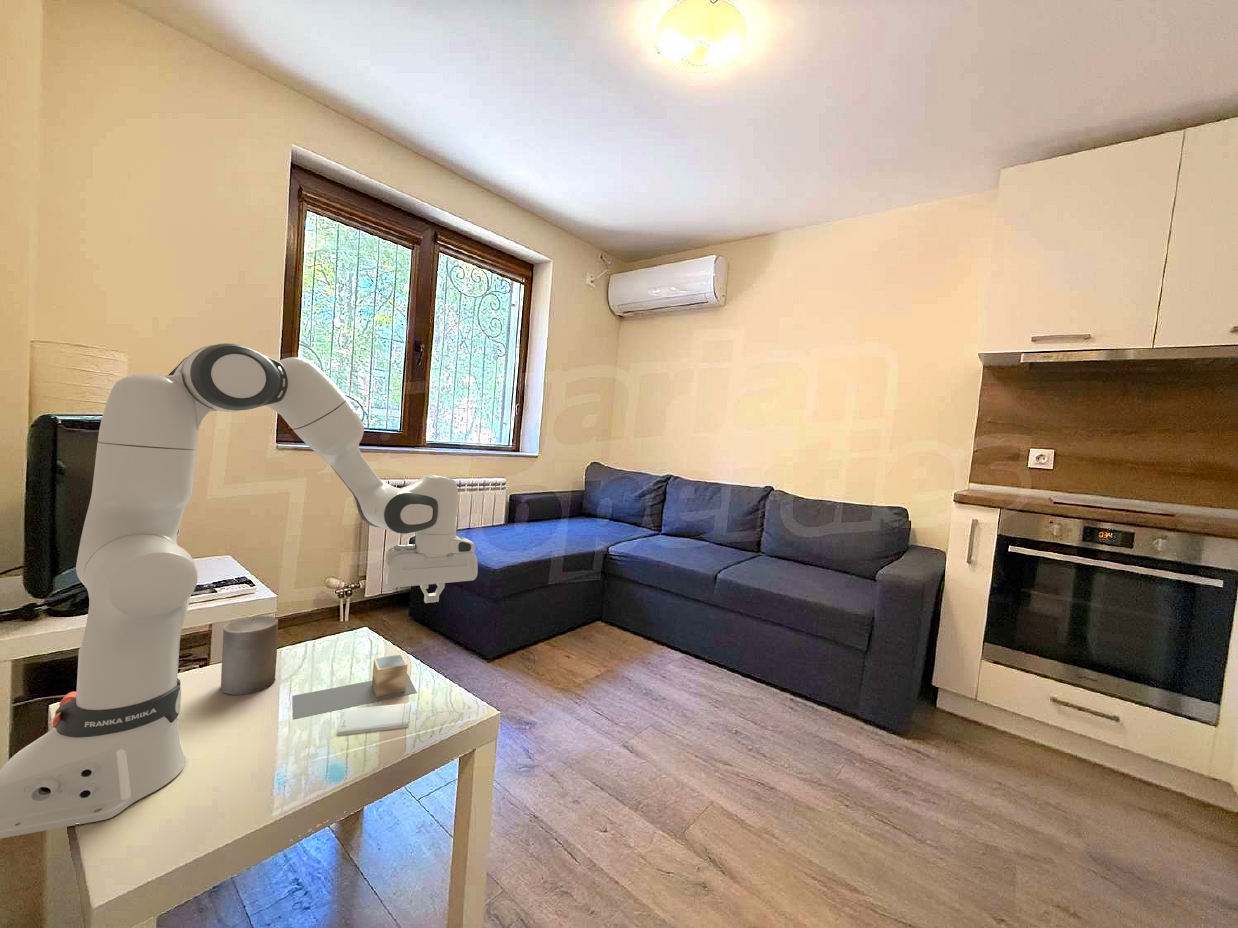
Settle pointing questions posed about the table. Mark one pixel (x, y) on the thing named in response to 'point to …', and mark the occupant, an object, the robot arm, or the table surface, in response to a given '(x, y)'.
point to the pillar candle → (249, 654)
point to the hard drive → (374, 718)
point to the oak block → (389, 675)
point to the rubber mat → (341, 698)
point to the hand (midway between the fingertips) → (431, 601)
